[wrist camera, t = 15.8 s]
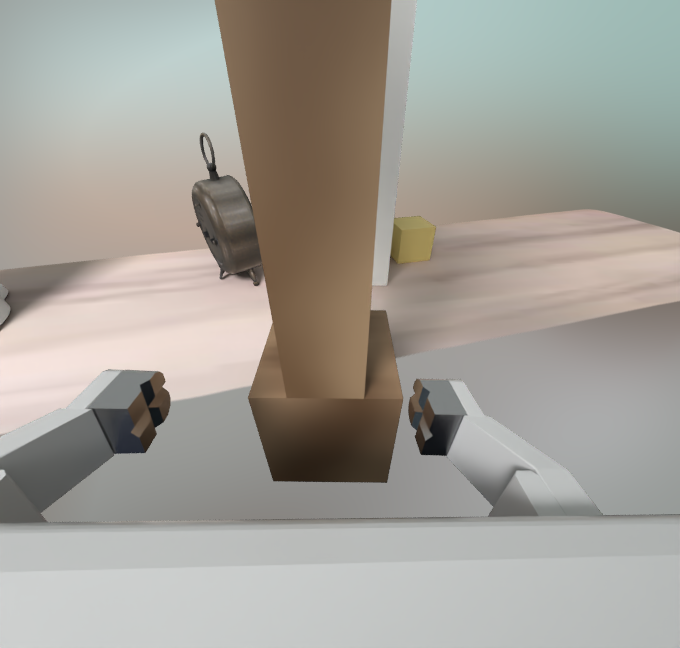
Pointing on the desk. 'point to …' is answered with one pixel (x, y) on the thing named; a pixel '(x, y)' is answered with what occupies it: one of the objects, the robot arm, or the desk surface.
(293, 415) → the brown block
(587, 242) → the desk surface
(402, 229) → the mustard block
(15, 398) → the desk surface
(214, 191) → the alarm clock
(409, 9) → the white block
